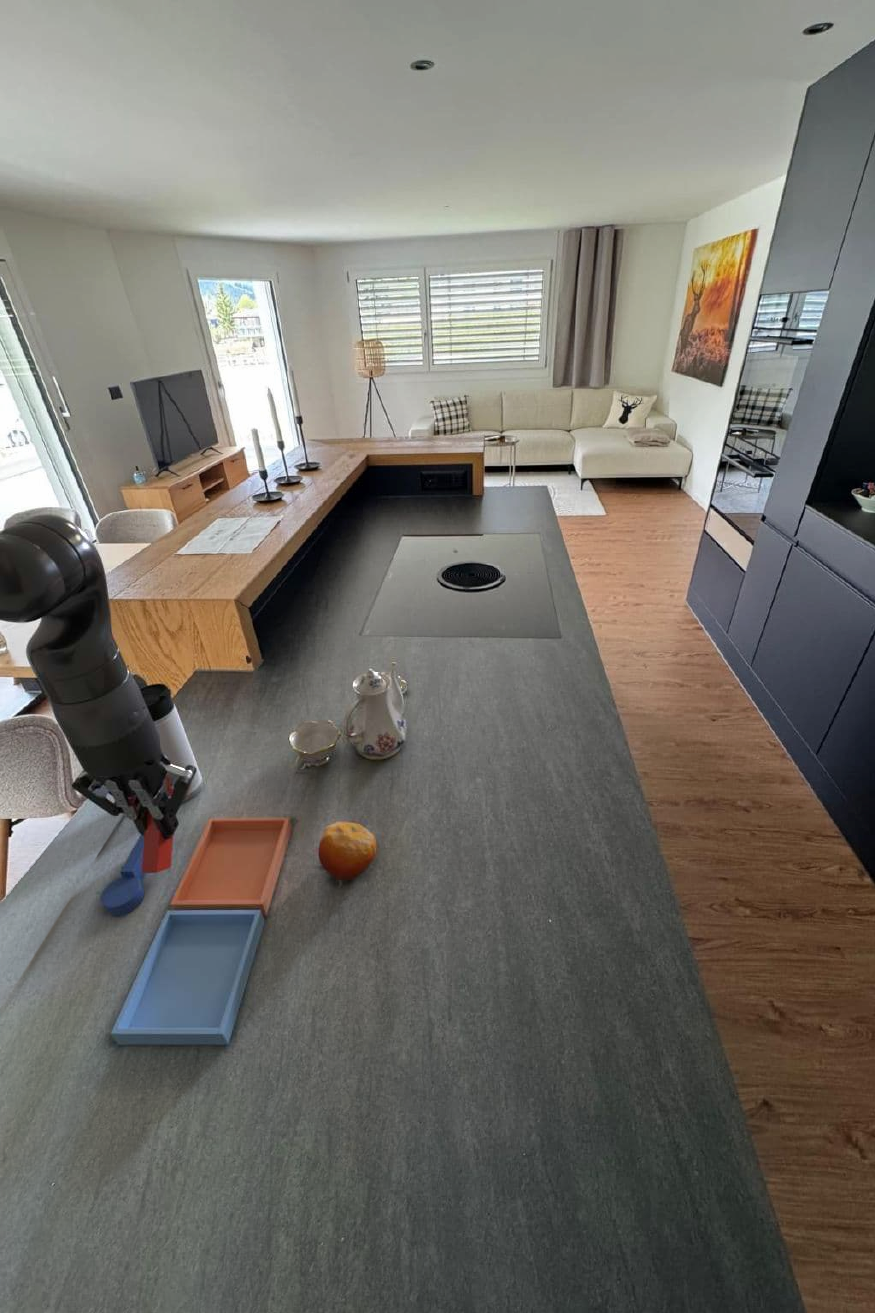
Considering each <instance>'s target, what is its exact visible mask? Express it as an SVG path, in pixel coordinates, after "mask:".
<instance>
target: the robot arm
mask: <svg viewBox="0 0 875 1313" xmlns="http://www.w3.org/2000/svg"><path fill="white" fill-rule="evenodd" d="M107 582H108V581H107V575H106V571H105V567H104V564H103V560H102V557H101V555H100V552H99V551H98V549H97V547H96V546H95V544H94V542H93V541H92V539H91V538H90V536H88V534H87V533H86V532H85V531H84V530H83V529H82V528H81V527H79V526H78V525H77V524H75V522H73V521H71V520H69V519H67V518H66V517H63V516H60V515H57V514H51V513H43V514H36V515H32V516H28V517H27V518H24V519H22V520H20V521H18V522H16V523H14V524H12V525H10V526H8V527H6V528H4V529H2V530H0V621H2V622H7V623H16V624H25V623H26V624H27V623H32V622H35V621H38V620H40V622H39V624H38V626H37V629H36V630H35V631H34V633H33V634H32V635H31V637H30V638H29V640H28V642H27V644H26V647H25V654H26V659H27V661H28V663H29V666H30V668H31V670H32V671H33V673H34V675H35V677H36V678H37V681H38V682H39V684H40V686H41V688H42V689H43V690H42V691H44V693H45V695H46V697H47V699H48V701H49V704H50V706H51V709H52V713H53V716H54V718H55V720H56V722H57V725H58V726H59V728H60V730H61V731H62V733H63V735H64V737H65V739H66V741H67V743H68V744H69V746H70V748H71V750H72V752H73V754H74V755H75V757H76V759H77V761H78V762H79V765H80V766H81V768H82V771H81V772H80V773H79V774H78V775H77V777H76V778H75V780H74V781H73V782H72V783H71V787H72V789H73V790H74V791H76V792H77V793H79V794H80V795H81V796H83V797H84V798H86V799H87V800H89V801H90V802H92V804H95V805H96V806H98V807H99V808H100V809H102V810H103V811H105V812H106V813H107V814H109V815H110V816H113V817H118V816H120V814H123V815H125V817H126V818H127V819H128V820H131V821H132V822H133V823H134V824H133V825H134V826H135V828H136V830H137V831H138V833H139V834H140V836H141V835H143V836H145V830H147V818H148V809H149V811H150V813H151V815H152V817H153V818H154V819H153V820H154V823H155V825H156V827H157V829H158V830H160V831H161V833H162V835H163V838H164V839H170V838H171V837H172V835H173V836H174V835H175V832H176V831H177V829H178V827H179V825H180V821H179V820H178V817H177V813H178V812H179V810H180V809H181V806H182V804H183V802H185V801H184V799H185V797H186V795H187V792H188V790H189V788H190V785H191V783H192V780H193V778H194V776H195V773H196V771H197V769H196V768H195V767H194V766H192V765H187V766H186V767H185V769H182V768H179V767H176V766H174V765H171V761H170V759H169V758H168V757H167V756H166V755H165V754H164V753H163V752H162V750H161V745H160V737H159V734H158V732H157V729H156V727H155V725H154V722H153V720H152V718H151V715H150V713H149V710H148V708H147V706H146V703H145V701H144V699H143V696H142V694H141V692H140V689H141V688H140V687H139V685H138V683H137V682H136V680H135V679H134V677H133V676H132V674H131V672H130V670H129V669H128V667H127V663H126V662H125V659H124V657H123V654H122V652H121V650H120V647H119V645H118V643H117V641H116V639H115V637H114V635H113V634H114V633H113V628H112V611H111V604H110V596H109V588H108V583H107ZM166 776H167V777H168V778H169V779H170V784H171V787H170V788H171V789H172V790H174V791H173V793H172V796H171V797H170V795H169V793H168V791H167V781H166V779H165V777H166ZM108 795H110V796H111V797H112V798H113V801H114V802H113V801H111V800H110V799H108V798H107V796H108Z"/></svg>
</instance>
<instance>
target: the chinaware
mask: <svg viewBox="0 0 875 1313" xmlns="http://www.w3.org/2000/svg"><path fill="white" fill-rule="evenodd" d="M396 667H397V663H396V662H391V663H390V664H389V666H388V669H387V672H386V671H380V672H377V671H374V670H373V669H372V668H369V669H368V670H367V671H366V673H364V674H361V675H359V676H357V677H356V678H354V681H353V682H352V689H353V690H354V692H355V694H356V700H354V701H352V703H351V704H350V705H349V706H348V708H347V710H346V711H345V714H344V715H343V716H344V717H343V719H342V732H343V734H344V735H345V736H346V740H347V741H348V743H350V744H351V745H352V746H353V747H354V748H355V750H356V752H357V753H358V754H359V756H361V757H362V758H364V759H366V760H370V761H383V760H384V761H385V760H387V759H390V758H392V757H394V756H396V755H397V754H398V753H399V752H401V749H402V748H403V745H404V744H405V742H406V737H407V733H408V730H409V724H408V722H407V721H406V720H405V719H404V718H403V717H402V716H403V713H404V710H405V708H404V707H405V702H404V700H405V699H404V695H403V694H405V693H406V692H407V691H408V688H409V685H408V682H407V681H406V680H403V678H402V677H401V676H399V675H396ZM403 683H405V688H404V690H403ZM355 709H357V710H356V714H355V716H354V717H353V719H352V722H351V725H350V727H349V721H350V719H351V716H352V713H353V712H354V710H355ZM341 736H342V733H341V730H340V729H339V728H337V727H336V725H335V724H334V722H333V721H331V719H323V720H320V721H318V722H317V721H312V720H309V721H308V720H307V721H303V722H302V723H301V724H299V726H298V727H297V728H296V729H295V731H294V732H291V733H290V734H289V736H288V737H287V740H288V743H289V745H290V746H291V748H292V749H293V750H294V752H296V753H297V757H296V758H295V761H294V768H295V769H296V771H298V772H302V771H303V770H305V768H306V767H308V768H311V767H312V766H317V767H319V766H322V765H324V764H325V763H329V758H330V757H331V756H332V754H333V753H334V752H335V749H336V747H337V742H338V740H339V739H340V737H341ZM300 759H303V760H305V761H306V762H304V764H303V766H302V767H301V768H299V761H300Z"/></svg>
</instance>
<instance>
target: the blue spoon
mask: <svg viewBox="0 0 875 1313" xmlns="http://www.w3.org/2000/svg"><path fill="white" fill-rule="evenodd" d="M143 848H144V836H143V835H141V834H140V836H139V838H138V839H137V841H136V842H135V844H134V846H133V848H132V850H131V851H130V852H129V855H128V856H127V858H126V860H125V862H124V863H123V865H122V867H121V869H120V870H119V874H120V877H118V878H115V879H113V880H112V881H111V882H110V883H108V884H107V885H106V886H105V887H104V889H103V890H102V892H101V894H100V903H101V904H102V906H103V908H104V909H105V911H106V912H107V914H108V915H110V916H113V917H120V916H121V917H122V916H125V915H127V914H130V913H131V912H132V911H134V910H135V909H137V907H139V906H140V905H141V903H142V902H143V900H144V897H145V888H144V886H143V884H142V881H143V879H144V878H145V875H146V874H147V873H142V860H143Z"/></svg>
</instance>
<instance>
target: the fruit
mask: <svg viewBox="0 0 875 1313" xmlns="http://www.w3.org/2000/svg"><path fill="white" fill-rule="evenodd" d="M377 849H378V848H377V840H376V836H375V834H374V833H373V832H371V831H370V830H368V829H367V828H366V827H364V826H363V825H362V824H360V823H355V822H352V821H351V822H350V821H336V822H334V823H333V824H329V825H327V826H326V827H325V830H324V831H323V833H322V836H321V838H320V840H319V844H318V860H319V863H320V865H321V867H322V869H323V870H324V871H325V872H327V873H328V874H330V875H331V876H332V877H333V878H334V879H335V880H336V882H338V889H339V890H340V889H341V887H342V884H343V882H344V881H345V882H346V881H348V882H349V881H351V880H353V879H355V878H357V877H359V876H360V875H362V874H363V873H364V872H365V871H366V869H367V868H368V867H369V866H370V865H371V863H372V862H373V861H374V859H375V857H376V855H377Z"/></svg>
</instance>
